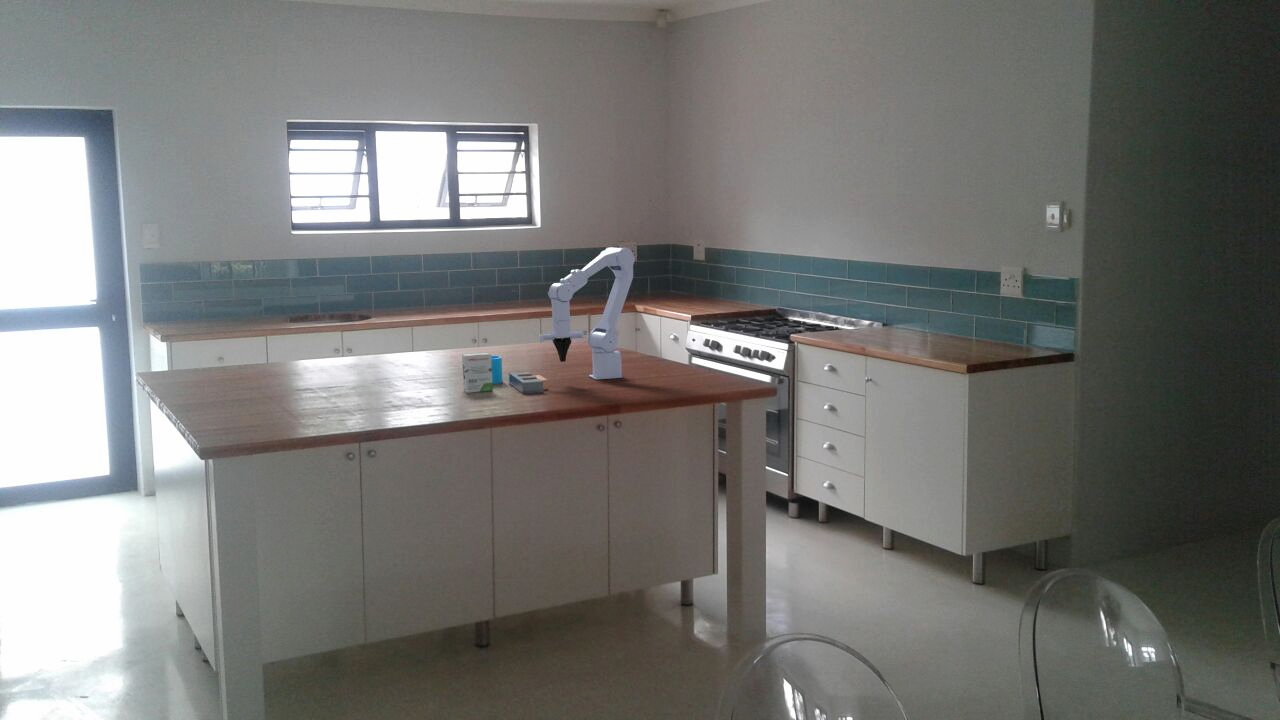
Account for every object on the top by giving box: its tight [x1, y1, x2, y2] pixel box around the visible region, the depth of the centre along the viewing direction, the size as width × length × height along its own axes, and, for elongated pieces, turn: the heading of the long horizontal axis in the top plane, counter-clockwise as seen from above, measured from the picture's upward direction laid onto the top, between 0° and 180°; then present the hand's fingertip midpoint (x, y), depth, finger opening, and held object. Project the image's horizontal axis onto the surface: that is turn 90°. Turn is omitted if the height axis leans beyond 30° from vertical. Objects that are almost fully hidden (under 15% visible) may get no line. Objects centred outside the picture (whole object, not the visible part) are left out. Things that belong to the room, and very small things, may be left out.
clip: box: [532, 374, 548, 390], centre depth 363 cm, size 8×10×3 cm
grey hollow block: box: [508, 371, 544, 395], centre depth 362 cm, size 6×20×4 cm, turn 19°
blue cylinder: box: [491, 355, 503, 385], centre depth 376 cm, size 12×8×8 cm
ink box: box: [461, 352, 494, 394], centre depth 358 cm, size 9×5×12 cm, turn 111°
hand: (562, 361), depth 370 cm, fingers closed
